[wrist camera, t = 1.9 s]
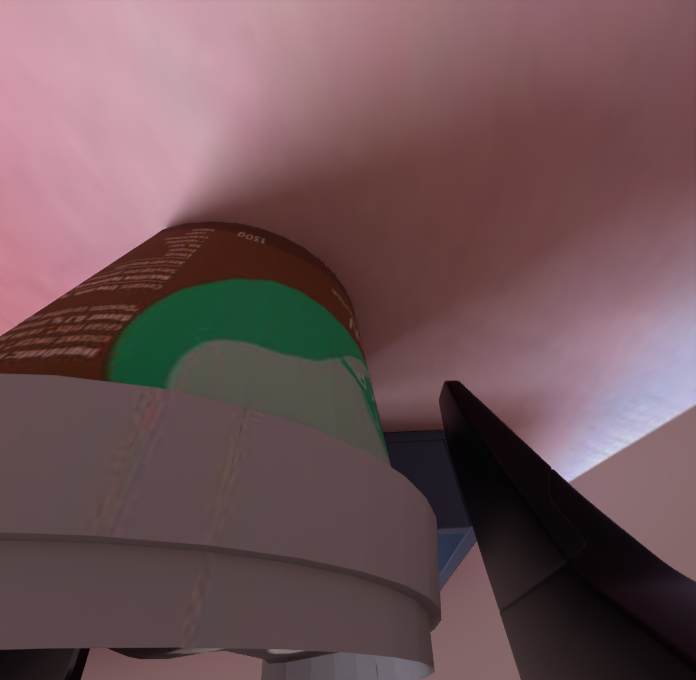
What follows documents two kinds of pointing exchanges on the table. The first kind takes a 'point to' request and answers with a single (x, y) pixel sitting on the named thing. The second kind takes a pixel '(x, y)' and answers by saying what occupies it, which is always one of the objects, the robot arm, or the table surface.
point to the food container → (209, 470)
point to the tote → (435, 491)
